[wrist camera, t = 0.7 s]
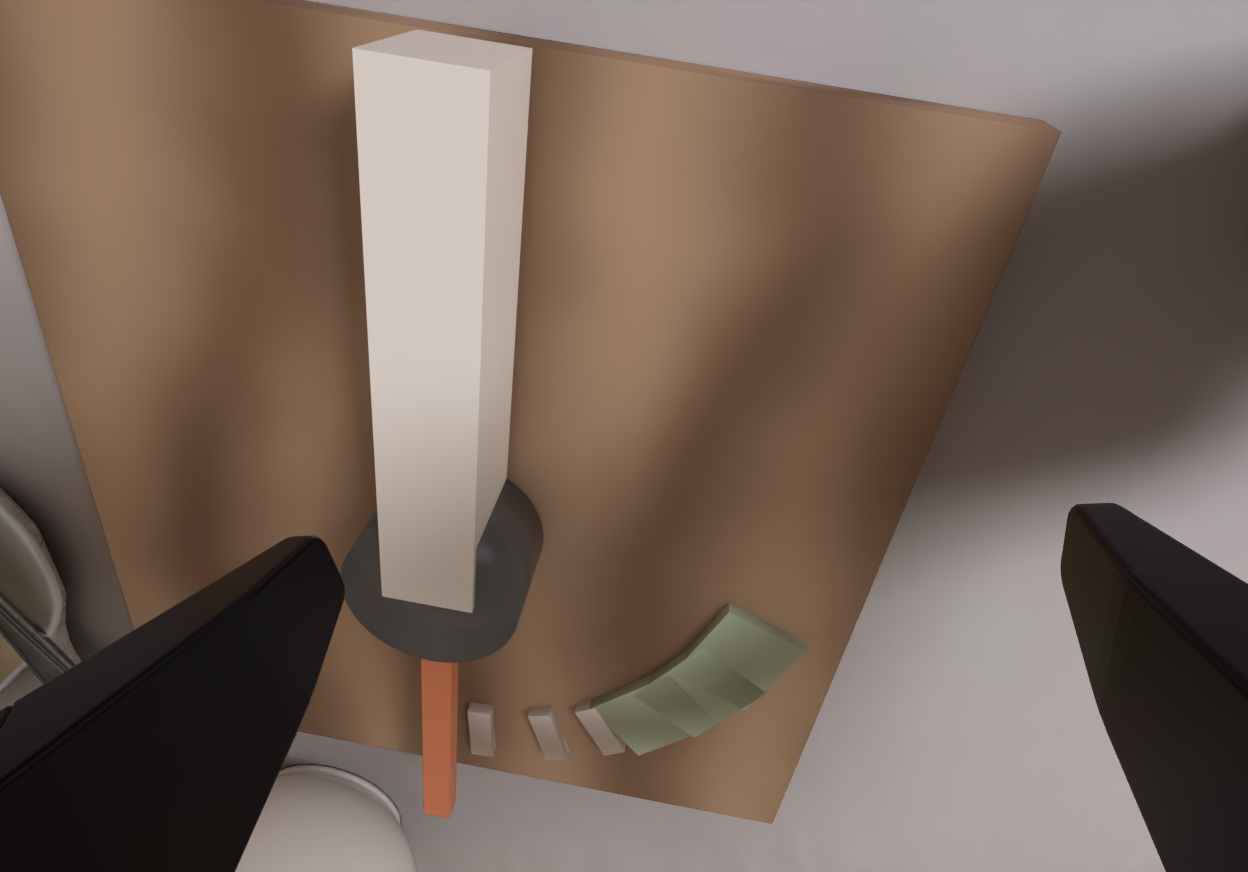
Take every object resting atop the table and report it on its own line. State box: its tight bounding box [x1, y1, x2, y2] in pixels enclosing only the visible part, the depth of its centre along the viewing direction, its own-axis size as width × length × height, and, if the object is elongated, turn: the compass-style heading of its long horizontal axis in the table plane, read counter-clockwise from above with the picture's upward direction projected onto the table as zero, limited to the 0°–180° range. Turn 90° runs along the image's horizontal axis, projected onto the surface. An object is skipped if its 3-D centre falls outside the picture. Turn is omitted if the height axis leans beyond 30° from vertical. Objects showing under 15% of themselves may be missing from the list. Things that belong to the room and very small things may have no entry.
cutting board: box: [0, 0, 1061, 824], centre depth 23 cm, size 24×25×2 cm
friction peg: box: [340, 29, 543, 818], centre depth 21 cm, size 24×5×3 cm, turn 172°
